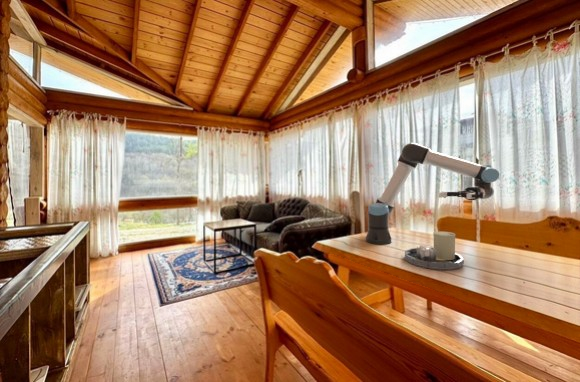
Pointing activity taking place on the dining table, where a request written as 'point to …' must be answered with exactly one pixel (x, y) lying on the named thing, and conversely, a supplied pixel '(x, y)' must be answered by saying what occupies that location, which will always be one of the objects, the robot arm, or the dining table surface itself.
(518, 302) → the dining table surface
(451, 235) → the can
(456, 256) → the carrier plate
